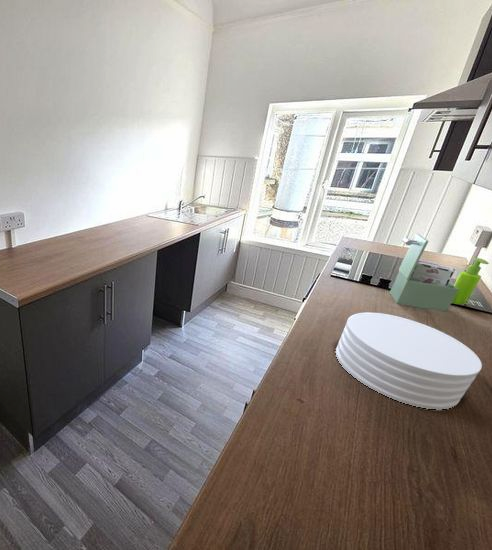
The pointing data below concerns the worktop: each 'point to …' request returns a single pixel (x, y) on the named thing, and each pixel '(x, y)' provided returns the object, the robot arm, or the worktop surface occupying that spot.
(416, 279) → the candy bar box
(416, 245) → the lid
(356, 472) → the worktop surface
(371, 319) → the plate stack
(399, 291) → the chest
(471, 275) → the soap dispenser
